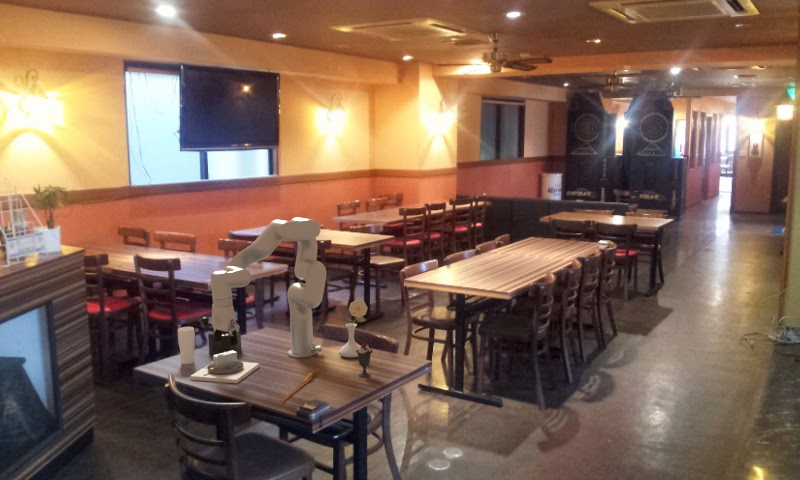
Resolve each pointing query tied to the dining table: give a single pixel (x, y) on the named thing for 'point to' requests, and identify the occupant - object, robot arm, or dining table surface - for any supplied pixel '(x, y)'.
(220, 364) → the dial
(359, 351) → the sundae
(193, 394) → the dining table surface
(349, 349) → the flower in vase
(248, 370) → the dial plate
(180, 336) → the drinking glass
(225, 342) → the coffee grinder
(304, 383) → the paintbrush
